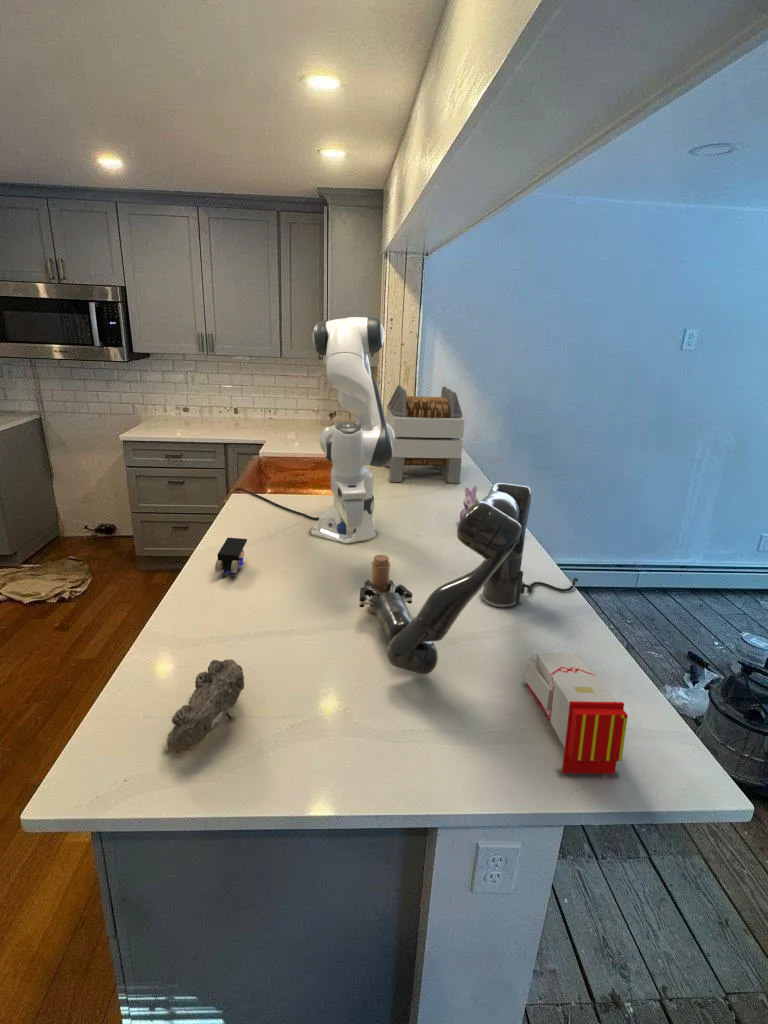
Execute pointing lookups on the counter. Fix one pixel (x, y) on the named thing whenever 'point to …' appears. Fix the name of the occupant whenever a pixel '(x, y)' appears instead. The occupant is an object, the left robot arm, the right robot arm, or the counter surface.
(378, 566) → the jar
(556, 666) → the toy
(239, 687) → the fossil
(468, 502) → the figurine
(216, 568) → the black wheeled block
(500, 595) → the right robot arm
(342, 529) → the lid
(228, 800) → the counter surface
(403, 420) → the transformer
